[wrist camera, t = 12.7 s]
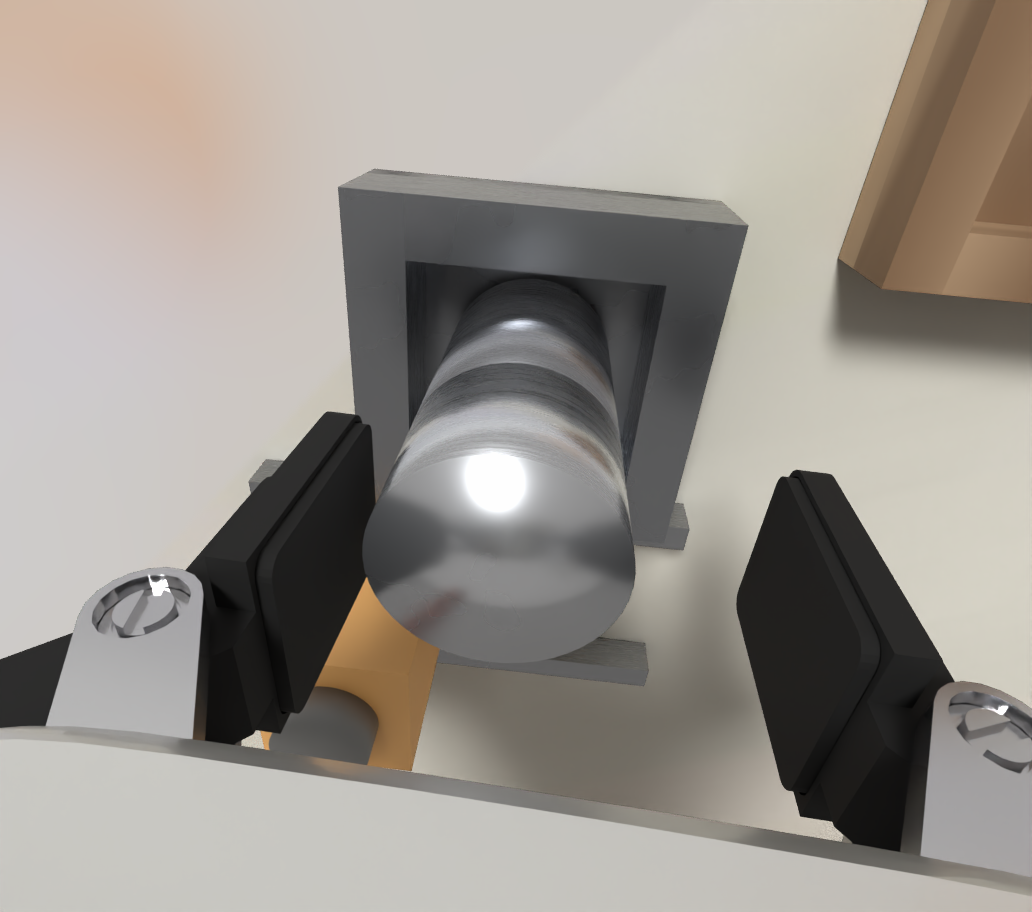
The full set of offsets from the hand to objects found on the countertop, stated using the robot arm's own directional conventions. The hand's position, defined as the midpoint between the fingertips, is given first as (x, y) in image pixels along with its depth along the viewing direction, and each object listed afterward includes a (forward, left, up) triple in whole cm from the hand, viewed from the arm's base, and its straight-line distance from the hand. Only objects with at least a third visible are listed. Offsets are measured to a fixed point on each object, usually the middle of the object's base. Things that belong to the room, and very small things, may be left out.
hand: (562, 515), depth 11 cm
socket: (+1, 0, -7) cm, 7 cm away
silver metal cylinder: (+1, 0, -6) cm, 6 cm away
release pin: (+5, +8, -7) cm, 11 cm away
